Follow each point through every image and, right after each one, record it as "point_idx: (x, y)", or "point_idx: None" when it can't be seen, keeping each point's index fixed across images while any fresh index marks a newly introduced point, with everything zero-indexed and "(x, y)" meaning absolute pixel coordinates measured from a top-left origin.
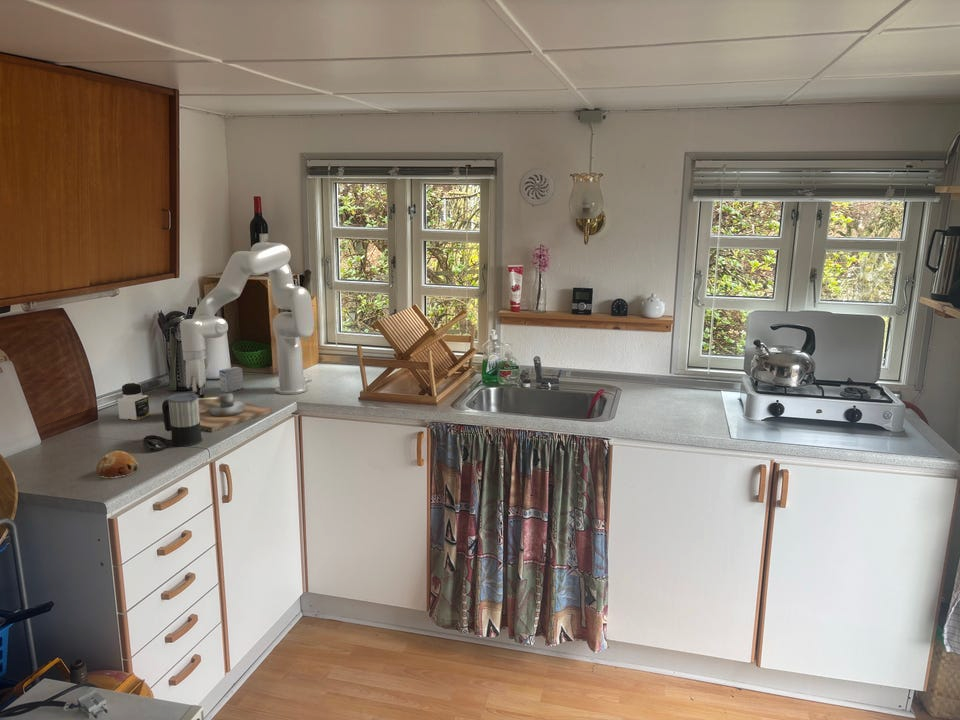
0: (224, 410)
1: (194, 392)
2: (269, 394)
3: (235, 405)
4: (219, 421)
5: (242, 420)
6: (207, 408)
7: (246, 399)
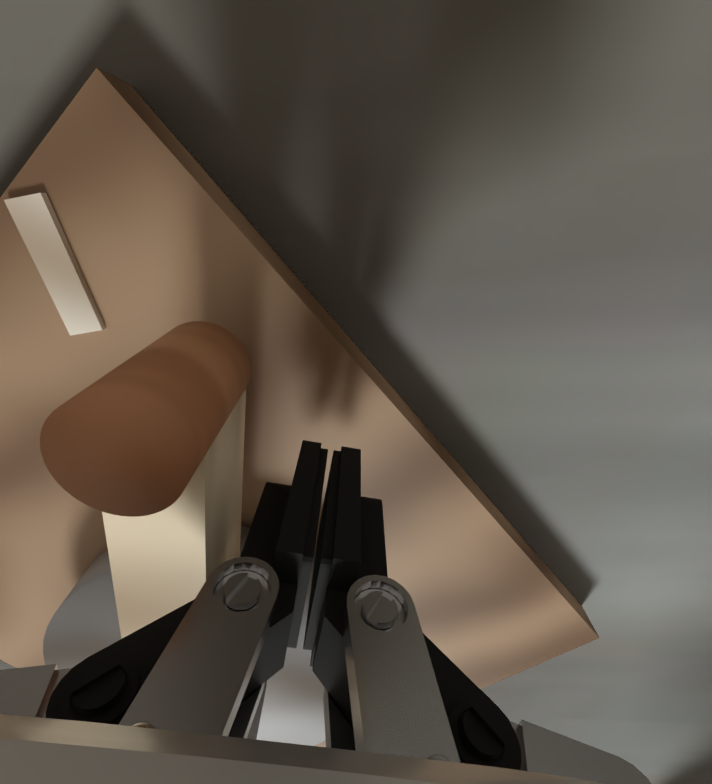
0: (45, 664)
1: (107, 653)
2: (672, 767)
3: None
4: None
5: None
6: (404, 501)
7: (643, 684)
